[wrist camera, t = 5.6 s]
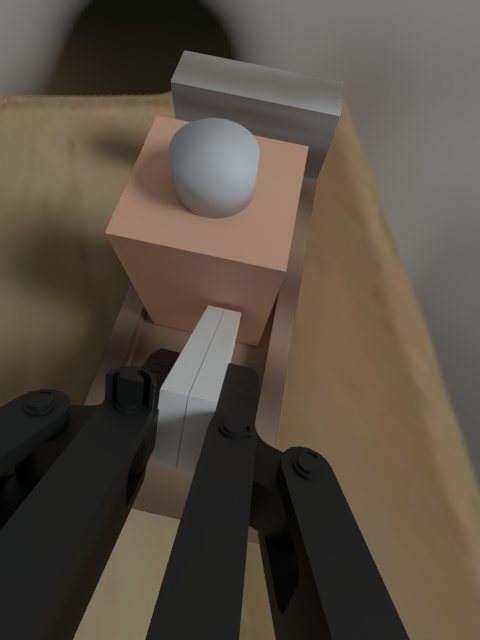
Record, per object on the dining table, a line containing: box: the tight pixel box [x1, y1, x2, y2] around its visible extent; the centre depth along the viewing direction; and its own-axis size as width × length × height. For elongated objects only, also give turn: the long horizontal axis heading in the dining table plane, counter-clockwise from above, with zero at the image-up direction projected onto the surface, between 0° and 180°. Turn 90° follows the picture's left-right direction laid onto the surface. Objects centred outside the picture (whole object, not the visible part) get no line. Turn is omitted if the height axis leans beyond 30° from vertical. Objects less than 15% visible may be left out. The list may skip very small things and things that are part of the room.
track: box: [84, 51, 345, 544], centre depth 19 cm, size 25×10×8 cm, turn 168°
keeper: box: [105, 116, 308, 346], centre depth 16 cm, size 6×6×11 cm
